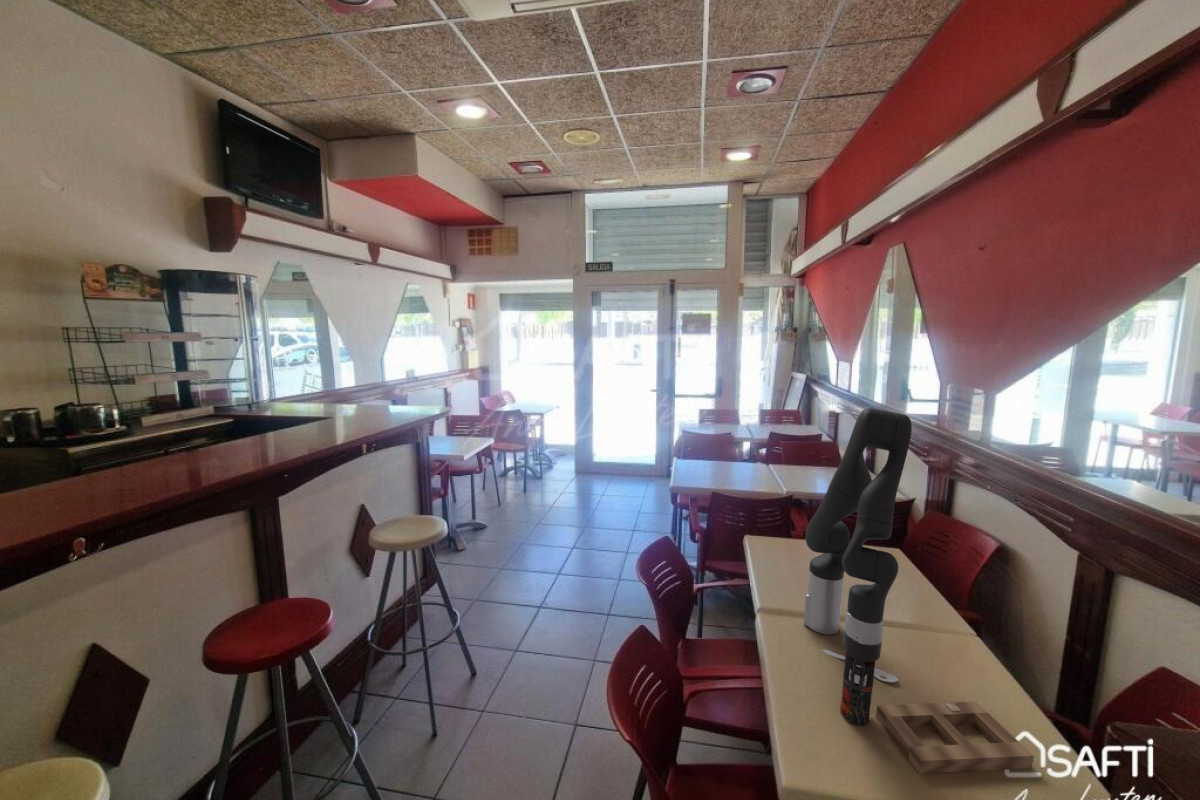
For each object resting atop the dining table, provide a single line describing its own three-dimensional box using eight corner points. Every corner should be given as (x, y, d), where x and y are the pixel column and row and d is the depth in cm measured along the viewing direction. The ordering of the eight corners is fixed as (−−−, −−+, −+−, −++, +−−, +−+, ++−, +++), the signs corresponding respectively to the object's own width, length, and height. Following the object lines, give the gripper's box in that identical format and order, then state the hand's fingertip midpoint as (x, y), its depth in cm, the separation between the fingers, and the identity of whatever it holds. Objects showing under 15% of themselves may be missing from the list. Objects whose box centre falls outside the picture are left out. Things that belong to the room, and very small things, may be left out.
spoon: (896, 690, 117) (896, 684, 117) (811, 650, 131) (811, 645, 131) (900, 681, 120) (900, 675, 120) (816, 643, 134) (817, 638, 134)
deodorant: (872, 728, 106) (879, 668, 103) (844, 723, 107) (850, 664, 104) (863, 707, 111) (869, 650, 109) (837, 703, 113) (842, 647, 110)
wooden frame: (919, 773, 95) (921, 759, 94) (875, 716, 109) (877, 704, 108) (1031, 768, 96) (1034, 754, 96) (974, 712, 110) (976, 700, 109)
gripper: (848, 610, 114) (842, 672, 116) (840, 643, 102) (833, 711, 105) (884, 621, 110) (877, 685, 112) (880, 657, 98) (872, 727, 100)
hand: (856, 698), depth 108 cm, fingers closed on deodorant, 6 cm apart
